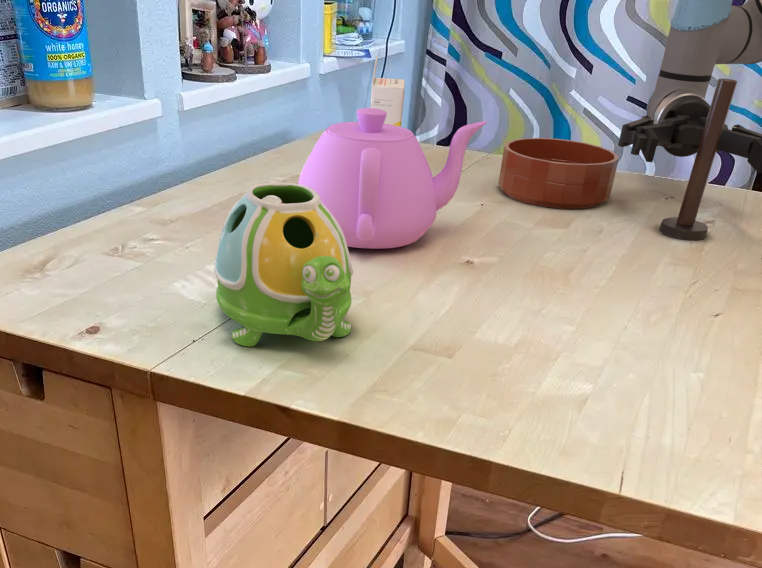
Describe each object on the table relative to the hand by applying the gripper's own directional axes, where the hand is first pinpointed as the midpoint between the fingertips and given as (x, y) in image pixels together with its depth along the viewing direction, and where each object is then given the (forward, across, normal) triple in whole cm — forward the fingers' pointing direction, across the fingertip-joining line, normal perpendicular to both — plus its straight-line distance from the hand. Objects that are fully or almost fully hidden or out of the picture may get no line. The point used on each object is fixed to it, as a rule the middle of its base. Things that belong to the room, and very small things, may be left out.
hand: (708, 156), depth 100 cm
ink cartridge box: (-21, +44, -10) cm, 49 cm away
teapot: (+14, +38, -10) cm, 42 cm away
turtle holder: (+45, +42, -10) cm, 62 cm away
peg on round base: (-2, 0, -10) cm, 10 cm away
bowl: (-15, +17, -10) cm, 25 cm away
